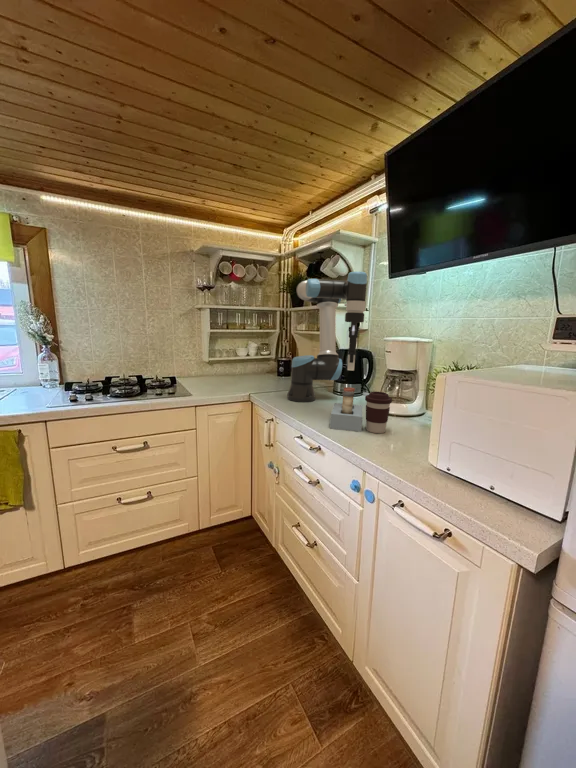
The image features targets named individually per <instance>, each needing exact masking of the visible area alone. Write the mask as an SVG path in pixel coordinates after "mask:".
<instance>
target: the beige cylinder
mask: <svg viewBox="0 0 576 768" xmlns="http://www.w3.org/2000/svg"><path fill="white" fill-rule="evenodd" d="M341 394H342V403H341V404H342V414H352V407H353V405H354V397H353V396H355V392H354V393H353V392H347V391H346V392H344V391H342V393H341Z"/></svg>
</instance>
